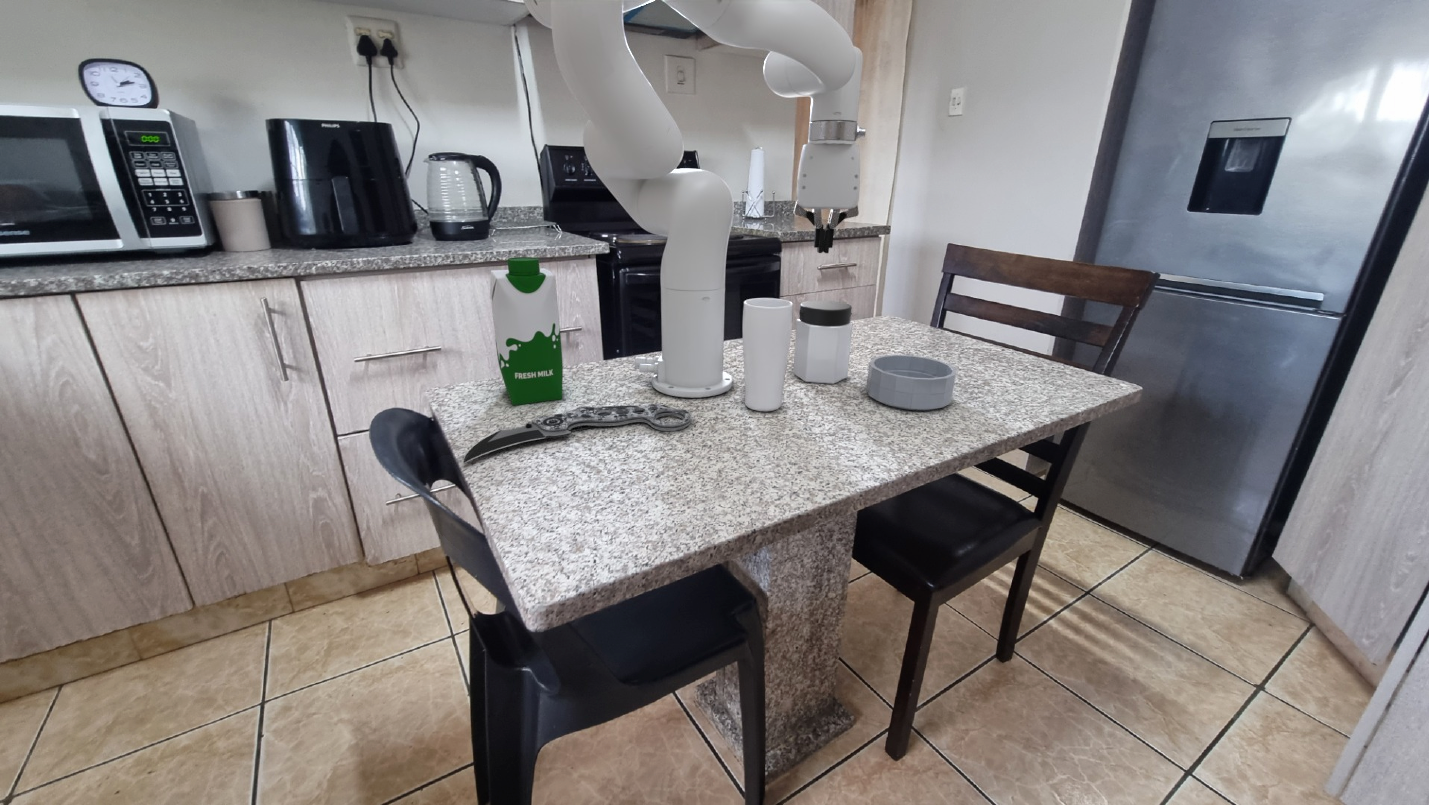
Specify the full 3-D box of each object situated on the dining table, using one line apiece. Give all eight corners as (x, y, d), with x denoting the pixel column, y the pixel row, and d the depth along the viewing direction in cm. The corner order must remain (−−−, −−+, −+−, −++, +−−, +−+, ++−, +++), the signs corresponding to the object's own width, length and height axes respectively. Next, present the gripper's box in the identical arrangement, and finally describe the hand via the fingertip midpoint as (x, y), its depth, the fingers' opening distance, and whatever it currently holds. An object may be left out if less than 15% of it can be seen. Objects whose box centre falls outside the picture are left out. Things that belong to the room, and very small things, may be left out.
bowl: (874, 410, 83) (879, 377, 81) (860, 383, 94) (863, 353, 92) (962, 414, 82) (968, 380, 80) (936, 386, 93) (941, 356, 92)
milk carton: (506, 409, 81) (490, 262, 74) (499, 388, 88) (483, 254, 81) (570, 400, 84) (559, 259, 77) (557, 381, 92) (547, 252, 85)
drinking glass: (773, 418, 79) (779, 309, 74) (730, 408, 83) (734, 303, 77) (794, 403, 85) (801, 301, 79) (753, 394, 88) (757, 295, 83)
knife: (462, 458, 63) (458, 420, 72) (464, 470, 64) (459, 432, 72) (701, 423, 75) (673, 394, 83) (700, 434, 75) (673, 404, 83)
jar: (812, 365, 103) (818, 297, 99) (854, 375, 98) (862, 304, 94) (784, 376, 96) (788, 305, 92) (827, 388, 92) (834, 312, 87)
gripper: (874, 137, 97) (862, 251, 103) (784, 136, 98) (778, 248, 104) (884, 134, 90) (870, 256, 96) (786, 133, 91) (779, 253, 97)
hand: (822, 252), depth 100 cm, fingers closed
